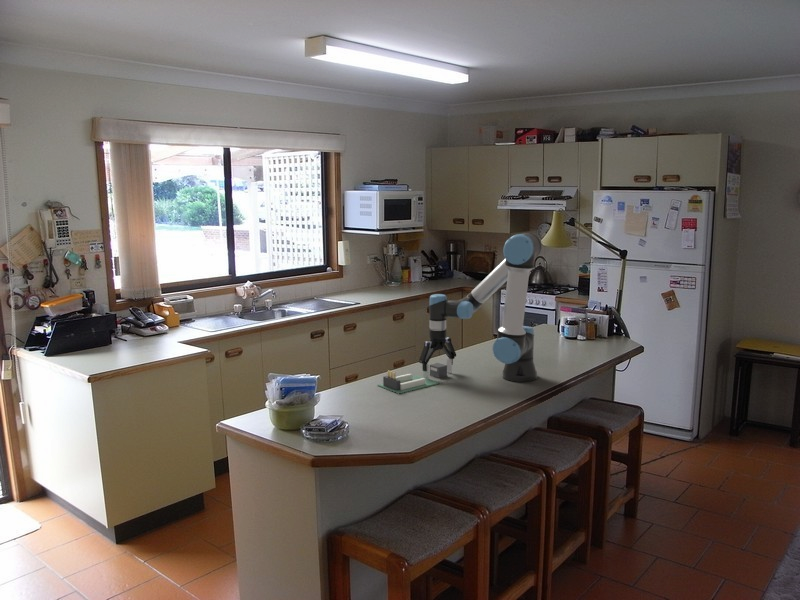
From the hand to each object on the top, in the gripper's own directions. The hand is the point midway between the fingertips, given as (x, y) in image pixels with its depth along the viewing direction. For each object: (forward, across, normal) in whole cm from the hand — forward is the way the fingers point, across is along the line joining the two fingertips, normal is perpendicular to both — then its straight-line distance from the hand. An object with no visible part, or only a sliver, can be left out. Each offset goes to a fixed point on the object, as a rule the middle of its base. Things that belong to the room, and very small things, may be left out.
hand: (437, 375), depth 301 cm
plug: (0, 0, 0) cm, 0 cm away
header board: (0, +19, +3) cm, 19 cm away
